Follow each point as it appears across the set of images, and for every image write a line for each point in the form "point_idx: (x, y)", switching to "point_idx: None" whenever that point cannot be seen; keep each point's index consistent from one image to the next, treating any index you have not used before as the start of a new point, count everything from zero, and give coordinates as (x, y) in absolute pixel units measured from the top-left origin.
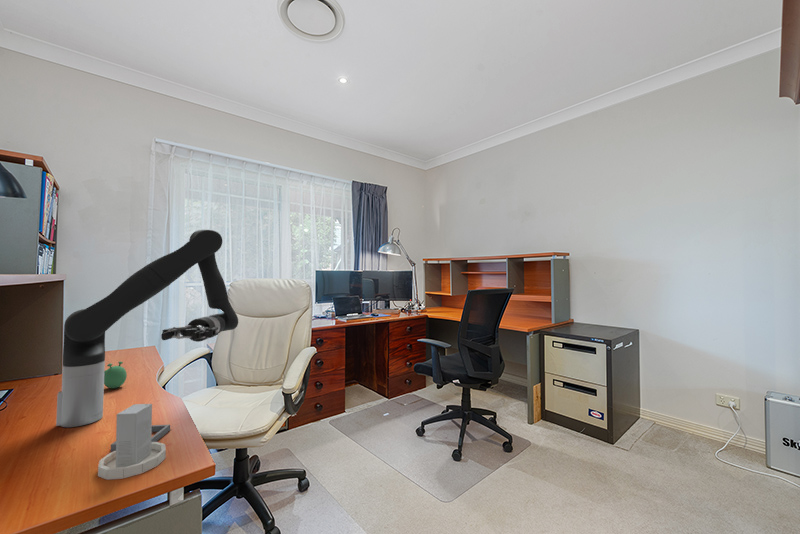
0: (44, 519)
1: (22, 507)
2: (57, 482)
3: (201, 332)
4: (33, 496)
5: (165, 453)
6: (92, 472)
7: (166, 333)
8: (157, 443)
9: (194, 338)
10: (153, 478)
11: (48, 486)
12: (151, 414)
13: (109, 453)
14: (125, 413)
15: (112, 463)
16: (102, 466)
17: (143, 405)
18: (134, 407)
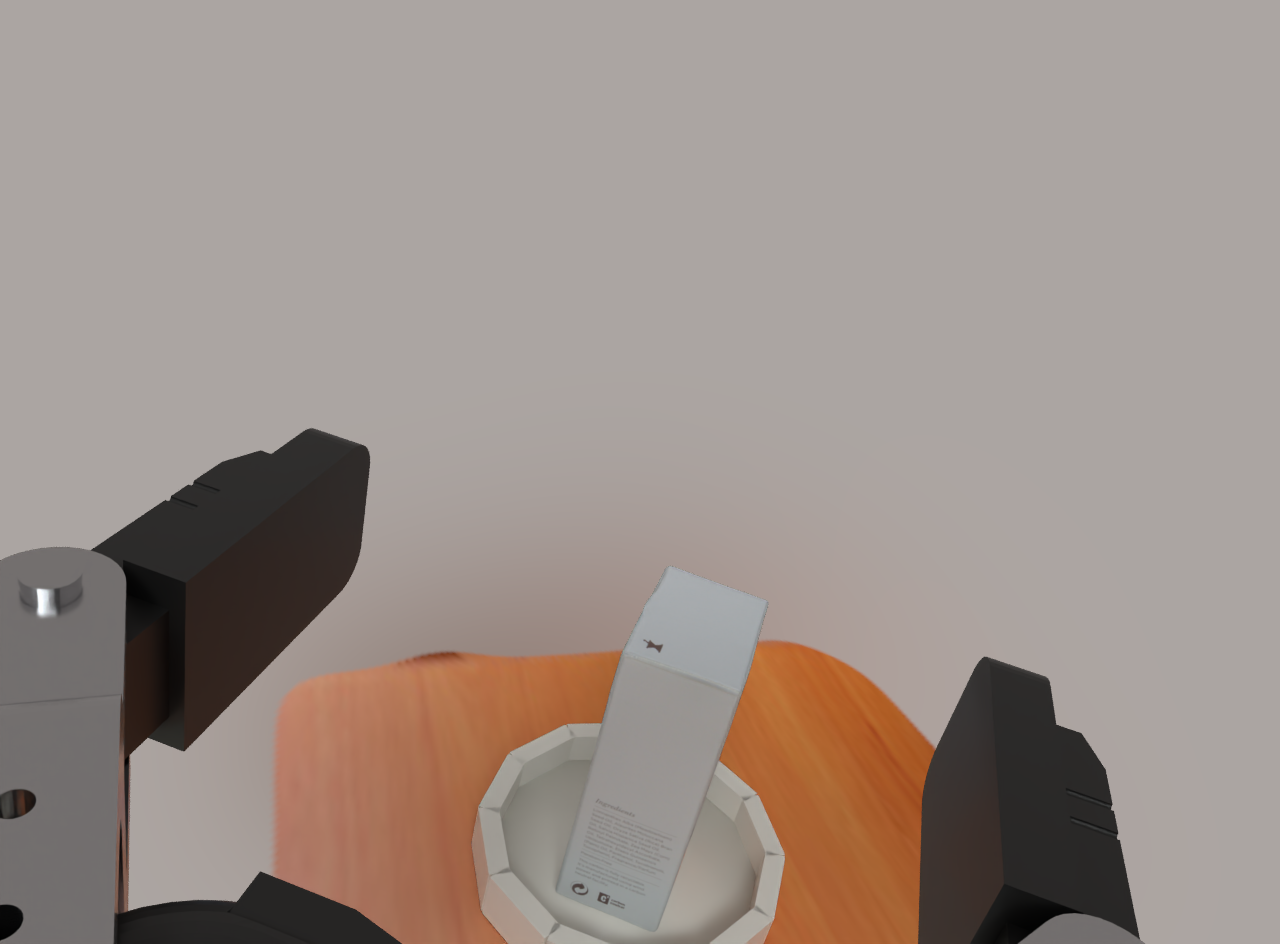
0: (778, 653)
1: (898, 745)
2: (896, 860)
3: (177, 514)
4: (914, 796)
5: (475, 822)
6: (789, 876)
7: (980, 709)
8: (534, 907)
9: (346, 546)
10: (503, 699)
11: (911, 844)
12: (607, 703)
13: (773, 914)
14: (724, 586)
15: (725, 881)
16: (739, 786)
17: (667, 643)
18: (711, 639)
